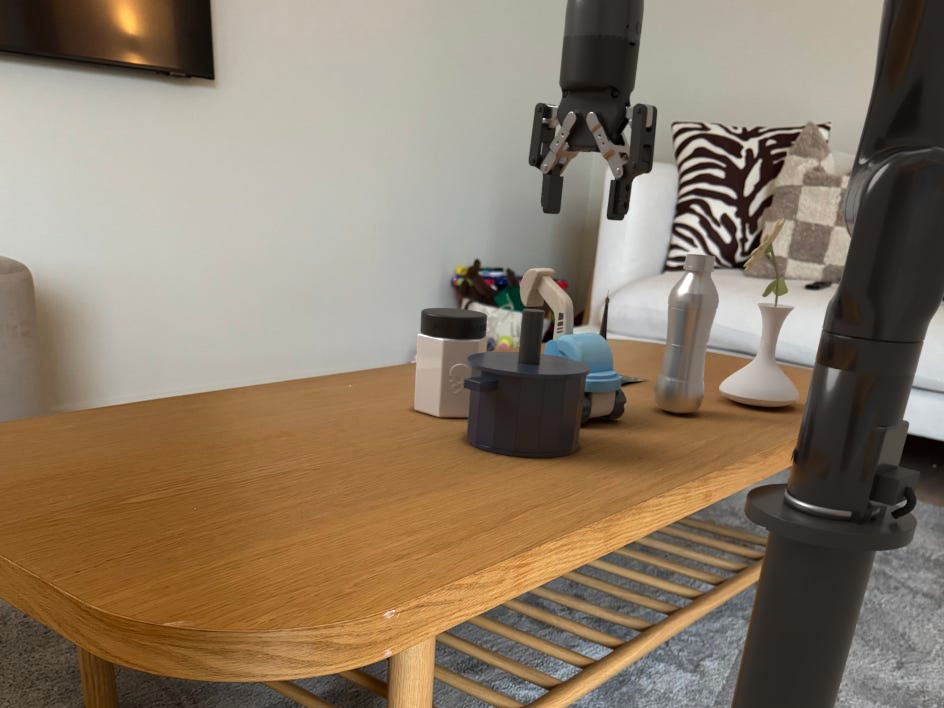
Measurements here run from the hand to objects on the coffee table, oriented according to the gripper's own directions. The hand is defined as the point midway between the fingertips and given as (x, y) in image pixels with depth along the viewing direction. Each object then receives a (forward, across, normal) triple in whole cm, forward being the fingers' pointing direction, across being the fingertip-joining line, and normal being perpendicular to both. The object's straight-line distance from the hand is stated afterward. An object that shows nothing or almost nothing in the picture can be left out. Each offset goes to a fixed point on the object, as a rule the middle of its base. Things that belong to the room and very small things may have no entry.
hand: (582, 216), depth 101 cm
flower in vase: (+24, +1, +44) cm, 50 cm away
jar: (+24, -18, 0) cm, 30 cm away
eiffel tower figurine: (+24, -22, +36) cm, 49 cm away
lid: (+15, -2, -4) cm, 16 cm away
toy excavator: (+24, -10, +13) cm, 29 cm away
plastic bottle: (+24, -2, +28) cm, 37 cm away
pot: (+24, -2, -4) cm, 24 cm away
